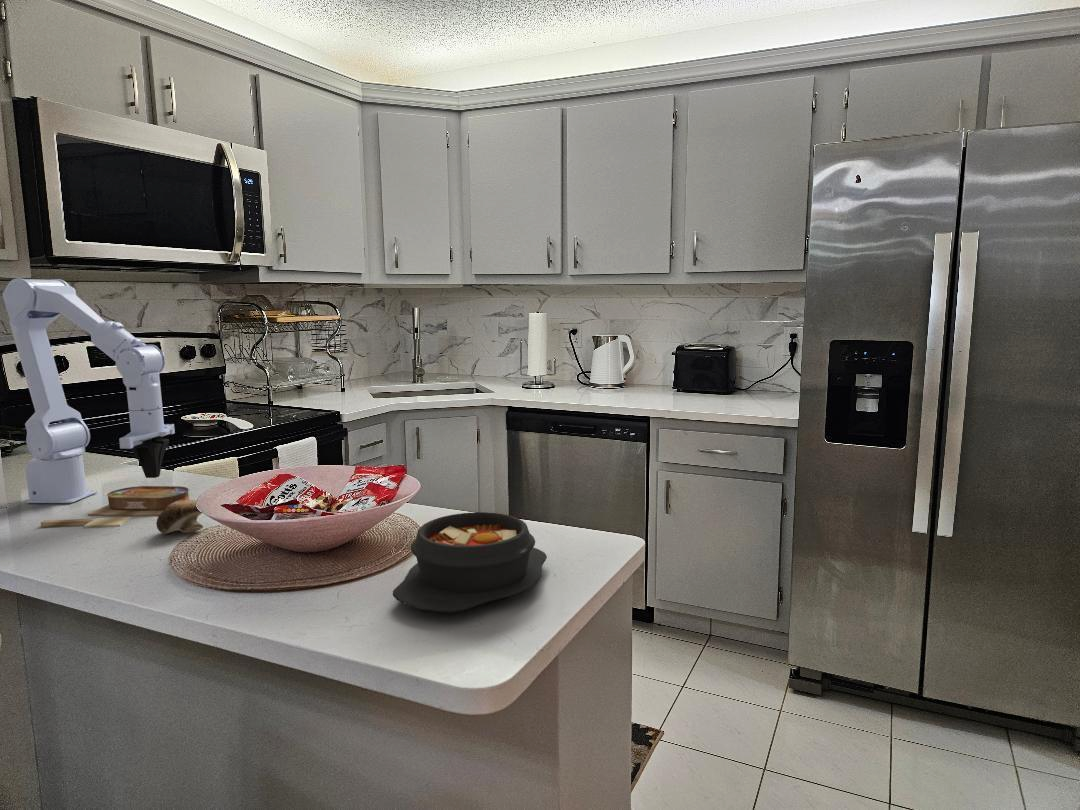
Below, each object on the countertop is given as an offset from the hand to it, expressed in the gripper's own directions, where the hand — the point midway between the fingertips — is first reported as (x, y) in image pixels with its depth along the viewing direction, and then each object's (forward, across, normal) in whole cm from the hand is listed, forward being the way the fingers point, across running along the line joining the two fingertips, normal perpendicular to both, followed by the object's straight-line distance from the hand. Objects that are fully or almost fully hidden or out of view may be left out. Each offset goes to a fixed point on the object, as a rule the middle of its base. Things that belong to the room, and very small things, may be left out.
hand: (152, 477), depth 139 cm
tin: (+4, +3, 0) cm, 5 cm away
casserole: (+6, -38, -69) cm, 79 cm away
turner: (+5, -12, +5) cm, 15 cm away
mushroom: (+6, -16, -15) cm, 23 cm away
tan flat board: (+5, -3, 0) cm, 6 cm away
